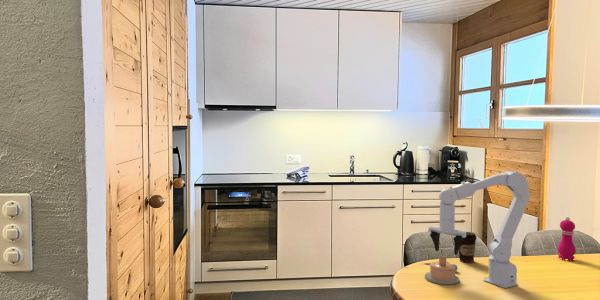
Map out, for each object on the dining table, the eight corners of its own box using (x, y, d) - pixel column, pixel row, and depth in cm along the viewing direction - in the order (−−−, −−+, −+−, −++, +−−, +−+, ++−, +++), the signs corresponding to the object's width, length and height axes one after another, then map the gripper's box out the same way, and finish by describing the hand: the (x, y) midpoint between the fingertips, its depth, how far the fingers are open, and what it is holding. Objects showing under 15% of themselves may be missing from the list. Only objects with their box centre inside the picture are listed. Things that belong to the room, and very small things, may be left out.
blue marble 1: (452, 269, 172) (452, 262, 171) (447, 270, 170) (447, 263, 170) (446, 267, 174) (446, 260, 174) (441, 268, 173) (441, 261, 173)
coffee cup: (479, 264, 179) (480, 235, 178) (461, 264, 179) (461, 235, 179) (471, 258, 187) (472, 231, 187) (454, 258, 188) (454, 230, 187)
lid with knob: (460, 278, 158) (460, 258, 158) (444, 282, 153) (445, 262, 153) (440, 271, 166) (440, 252, 166) (424, 275, 161) (425, 255, 161)
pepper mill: (575, 258, 188) (576, 216, 188) (576, 262, 182) (577, 219, 182) (557, 256, 192) (558, 214, 192) (557, 259, 186) (558, 217, 186)
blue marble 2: (459, 271, 168) (459, 264, 168) (454, 272, 167) (454, 265, 167) (453, 269, 171) (453, 262, 171) (448, 270, 170) (448, 263, 169)
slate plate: (466, 281, 157) (466, 279, 157) (443, 287, 151) (443, 285, 151) (440, 271, 168) (440, 269, 168) (417, 276, 162) (417, 274, 162)
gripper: (468, 219, 159) (468, 253, 159) (433, 215, 168) (432, 246, 169) (462, 222, 153) (462, 257, 154) (426, 217, 163) (426, 250, 163)
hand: (446, 252), depth 161 cm, fingers open, 7 cm apart
